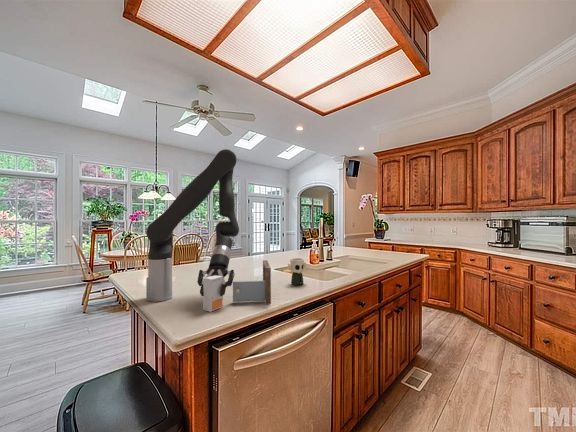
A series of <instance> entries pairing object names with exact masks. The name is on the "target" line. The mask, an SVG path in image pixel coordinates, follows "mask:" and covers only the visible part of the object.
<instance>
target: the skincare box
mask: <svg viewBox="0 0 576 432" xmlns="http://www.w3.org/2000/svg"><path fill="white" fill-rule="evenodd" d="M205 277H206V276H205ZM205 277H203V296H202V297H203V299H202V304H203V305H202V306H203V307H202V310H203V311H207V312H210V313H212V312H213V311H216V310H218V309H222V308H223V296H220V290H221V285H222V281H223V276H217V275H214V276H210V277H206V278H205Z"/></svg>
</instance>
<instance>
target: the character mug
mask: <svg viewBox="0 0 576 432" xmlns="http://www.w3.org/2000/svg"><path fill="white" fill-rule="evenodd" d="M289 260H290V261H289V263H287V270H288V271H290V272H291V273H292V274H291V284H292V285H295V286H299V285H304V276H303V272H304V271H305V269H306V268H307V261H305V259H304V258H301V257H293V258H290V259H289Z"/></svg>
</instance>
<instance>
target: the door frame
mask: <svg viewBox="0 0 576 432" xmlns="http://www.w3.org/2000/svg"><path fill="white" fill-rule="evenodd" d="M271 270H272V268H271V265H270V264H269V262H268V259H266V260H265V259H263V260H262V281H265V291H266V301H265V304H266V305H270V304H272V291H271V290H272V283H271V282H272V280H271V279H272V273H271Z"/></svg>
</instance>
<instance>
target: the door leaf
mask: <svg viewBox="0 0 576 432" xmlns="http://www.w3.org/2000/svg"><path fill="white" fill-rule="evenodd" d="M242 302H243V303H247V302H266V291H265V281H263V280H233V282H232V303H242Z"/></svg>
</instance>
